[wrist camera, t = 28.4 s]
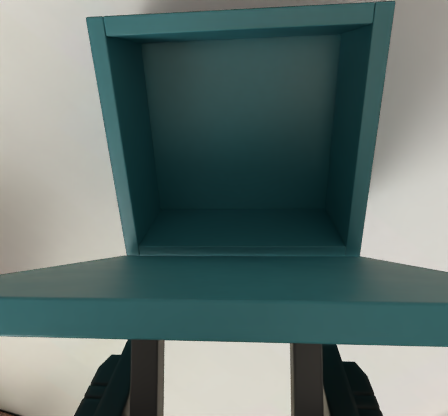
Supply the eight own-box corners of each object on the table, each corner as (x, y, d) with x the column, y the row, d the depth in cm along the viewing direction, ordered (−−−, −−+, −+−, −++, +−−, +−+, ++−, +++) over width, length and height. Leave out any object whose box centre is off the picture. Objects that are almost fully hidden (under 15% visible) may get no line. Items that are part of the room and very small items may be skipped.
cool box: (130, 30, 23) (84, 16, 16) (353, 19, 22) (396, 0, 15) (154, 214, 28) (126, 257, 22) (333, 213, 27) (359, 259, 21)
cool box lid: (-136, 295, 7) (-161, 576, 7) (637, 305, 6) (673, 647, 5) (124, 255, 22) (122, 342, 21) (361, 256, 20) (364, 348, 20)
